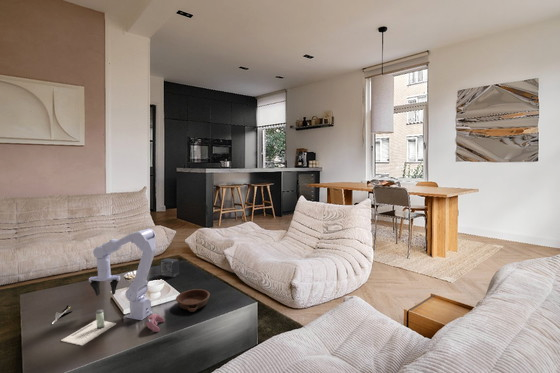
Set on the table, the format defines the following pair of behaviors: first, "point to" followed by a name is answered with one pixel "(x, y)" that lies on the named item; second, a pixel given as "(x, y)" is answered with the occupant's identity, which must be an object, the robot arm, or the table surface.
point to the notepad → (87, 333)
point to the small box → (169, 267)
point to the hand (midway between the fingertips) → (105, 294)
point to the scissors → (58, 315)
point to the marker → (100, 319)
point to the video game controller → (154, 322)
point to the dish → (193, 299)
